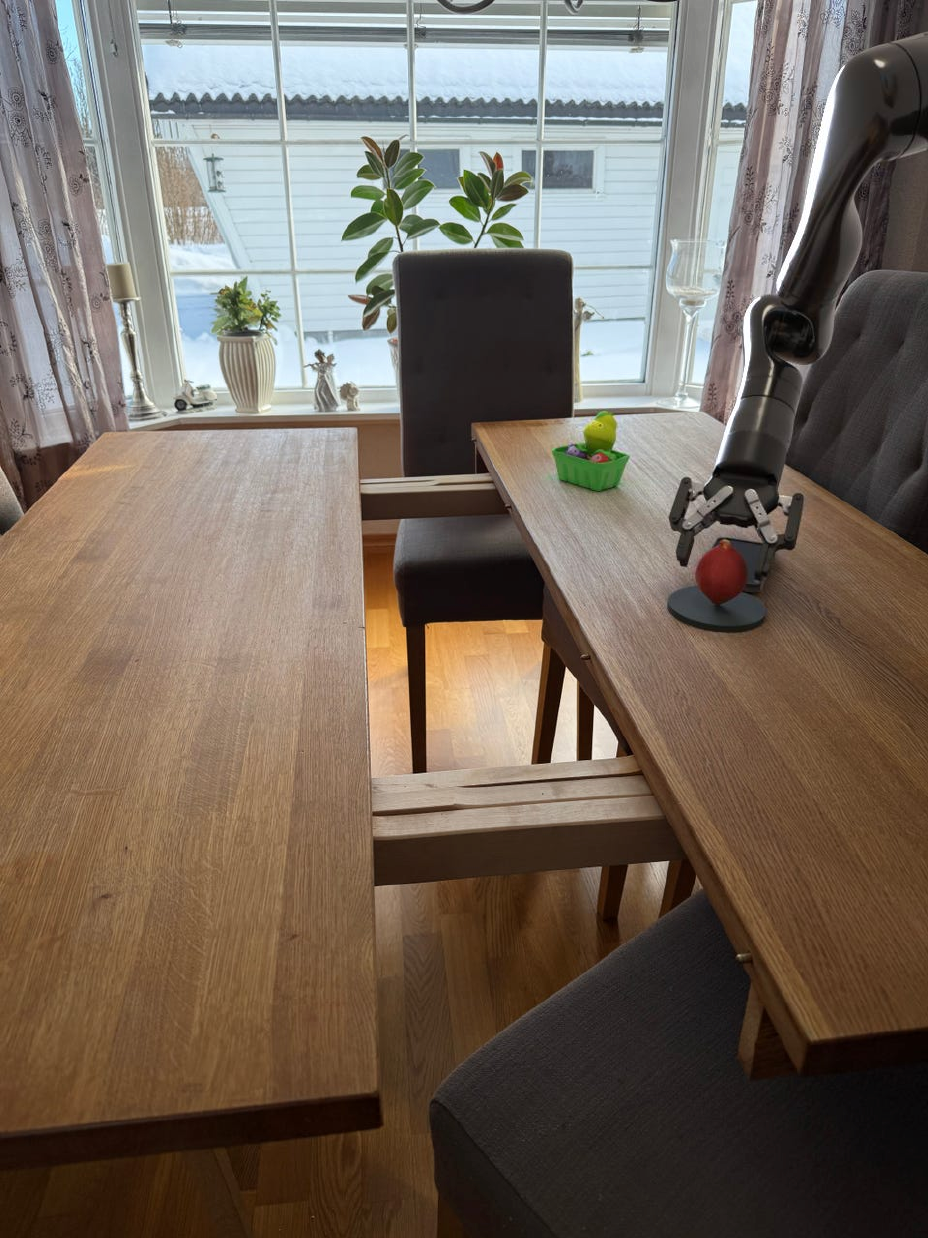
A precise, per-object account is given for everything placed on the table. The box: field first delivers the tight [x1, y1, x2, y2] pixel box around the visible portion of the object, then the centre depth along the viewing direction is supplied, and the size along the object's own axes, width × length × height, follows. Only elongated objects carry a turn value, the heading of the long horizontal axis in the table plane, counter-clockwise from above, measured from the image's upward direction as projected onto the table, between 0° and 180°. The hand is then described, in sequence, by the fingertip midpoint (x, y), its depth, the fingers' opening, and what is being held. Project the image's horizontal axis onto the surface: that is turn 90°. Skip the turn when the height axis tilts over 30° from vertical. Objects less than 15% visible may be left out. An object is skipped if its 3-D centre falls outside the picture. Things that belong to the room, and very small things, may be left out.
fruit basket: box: [551, 410, 631, 492], centre depth 145 cm, size 11×9×11 cm
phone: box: [710, 536, 776, 594], centre depth 114 cm, size 8×1×15 cm
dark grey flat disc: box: [666, 585, 767, 633], centre depth 102 cm, size 11×11×1 cm
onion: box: [694, 540, 748, 605], centre depth 100 cm, size 6×6×8 cm
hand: (719, 570), depth 99 cm, fingers open, 8 cm apart
